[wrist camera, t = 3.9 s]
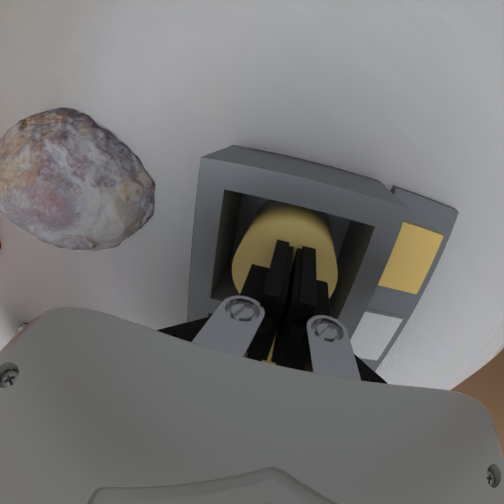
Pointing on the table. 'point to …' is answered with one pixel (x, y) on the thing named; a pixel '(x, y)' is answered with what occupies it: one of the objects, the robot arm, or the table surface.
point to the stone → (72, 182)
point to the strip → (403, 275)
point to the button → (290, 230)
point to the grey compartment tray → (300, 194)
